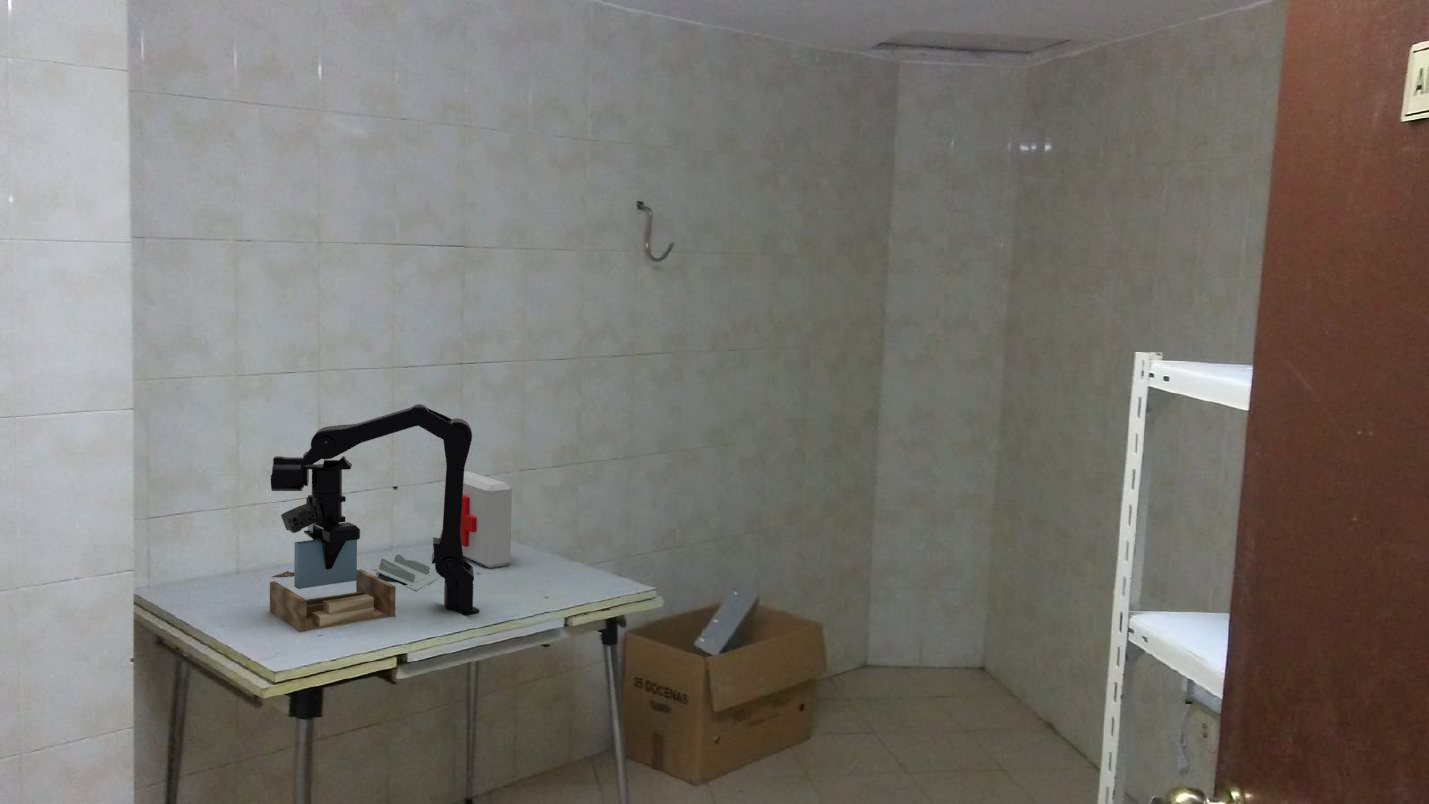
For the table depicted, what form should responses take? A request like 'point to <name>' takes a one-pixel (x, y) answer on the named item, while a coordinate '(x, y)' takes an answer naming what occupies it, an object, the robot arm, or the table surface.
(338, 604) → the upper offcut
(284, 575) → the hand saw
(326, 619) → the lower offcut
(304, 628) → the rack
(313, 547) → the panel
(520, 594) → the table surface
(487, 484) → the bevelled white case
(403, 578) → the metal bracket
